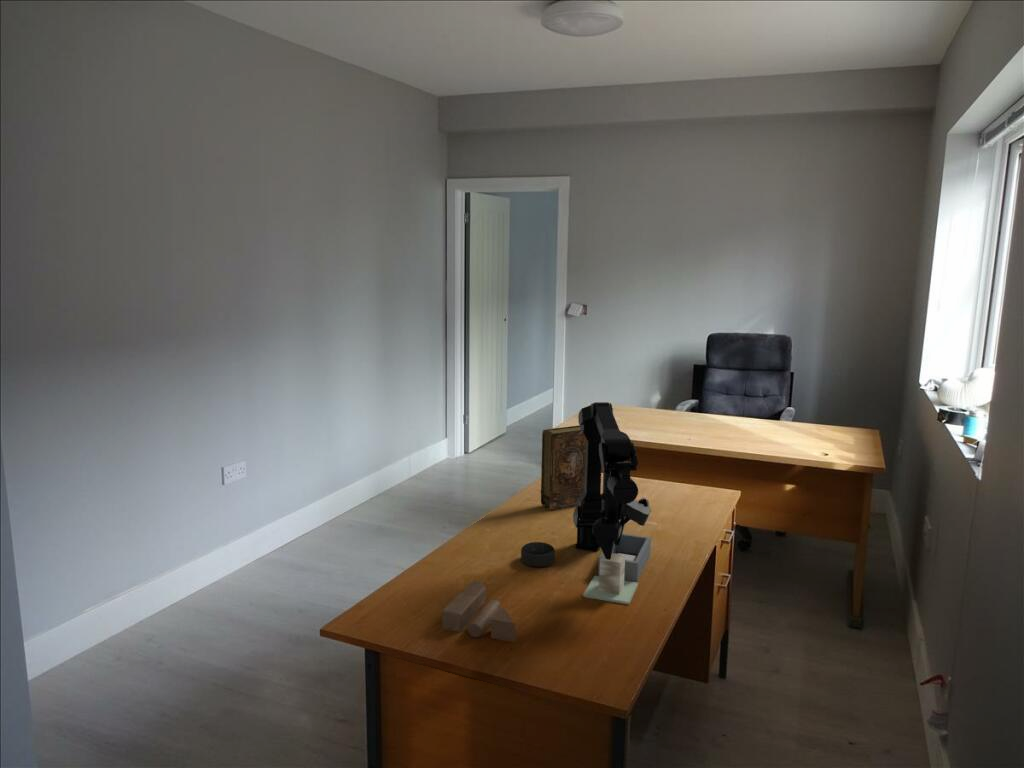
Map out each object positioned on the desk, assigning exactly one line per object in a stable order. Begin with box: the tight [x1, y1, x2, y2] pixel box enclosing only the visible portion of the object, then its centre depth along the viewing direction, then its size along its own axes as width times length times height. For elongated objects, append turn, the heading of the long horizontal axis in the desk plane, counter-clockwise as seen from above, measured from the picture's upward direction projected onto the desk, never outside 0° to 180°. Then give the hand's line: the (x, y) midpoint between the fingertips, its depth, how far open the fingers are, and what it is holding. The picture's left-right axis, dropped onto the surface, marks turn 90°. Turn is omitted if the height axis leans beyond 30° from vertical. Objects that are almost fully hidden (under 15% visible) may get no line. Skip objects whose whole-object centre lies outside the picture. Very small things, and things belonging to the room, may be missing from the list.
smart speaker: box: [520, 541, 556, 568], centre depth 201 cm, size 9×9×4 cm
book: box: [540, 424, 586, 511], centre depth 242 cm, size 16×6×25 cm, turn 117°
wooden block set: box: [441, 580, 516, 643], centre depth 170 cm, size 17×6×18 cm
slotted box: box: [597, 532, 652, 583], centre depth 199 cm, size 10×18×5 cm, turn 160°
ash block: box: [599, 552, 625, 594], centre depth 184 cm, size 5×5×8 cm
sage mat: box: [582, 575, 639, 605], centre depth 185 cm, size 11×11×1 cm
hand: (612, 551), depth 183 cm, fingers open, 9 cm apart
